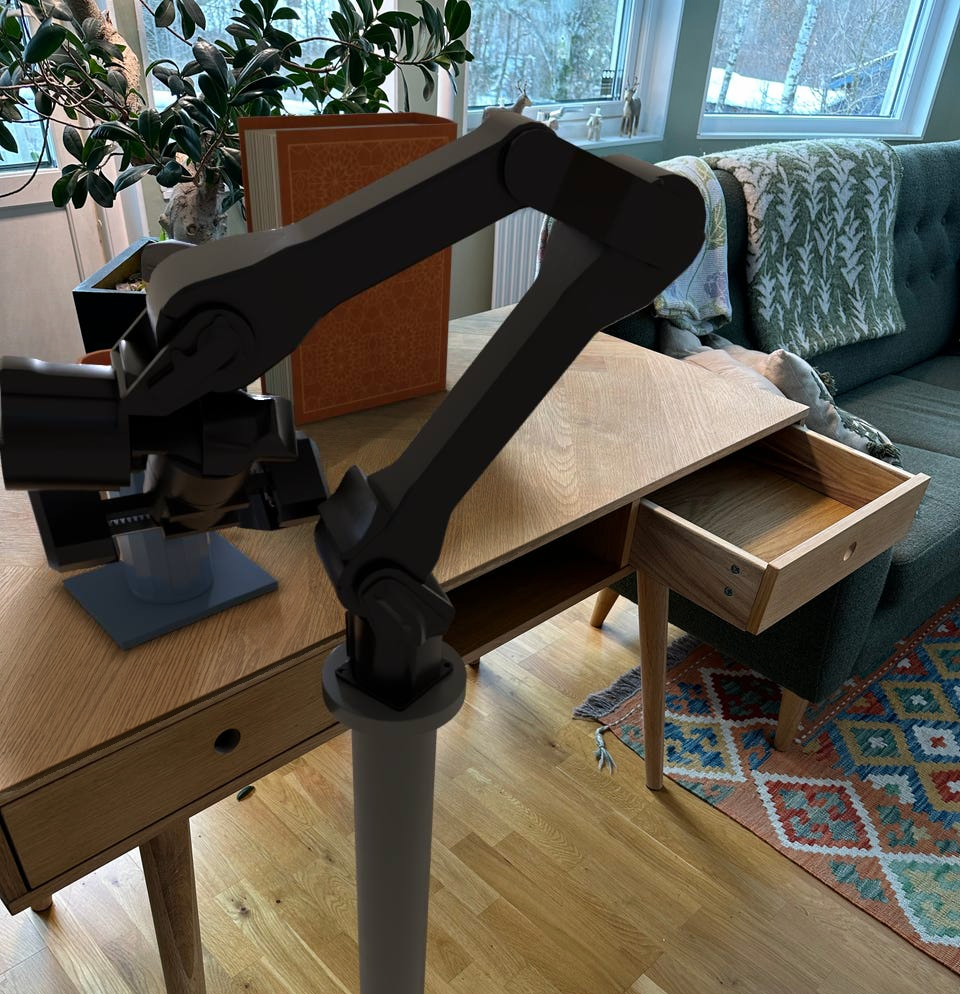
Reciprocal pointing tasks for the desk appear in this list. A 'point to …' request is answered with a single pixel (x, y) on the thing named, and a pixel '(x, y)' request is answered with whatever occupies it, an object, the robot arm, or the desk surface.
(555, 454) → the desk surface
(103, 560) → the robot arm
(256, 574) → the blue mat
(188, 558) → the blue cup
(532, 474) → the desk surface
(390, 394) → the book
